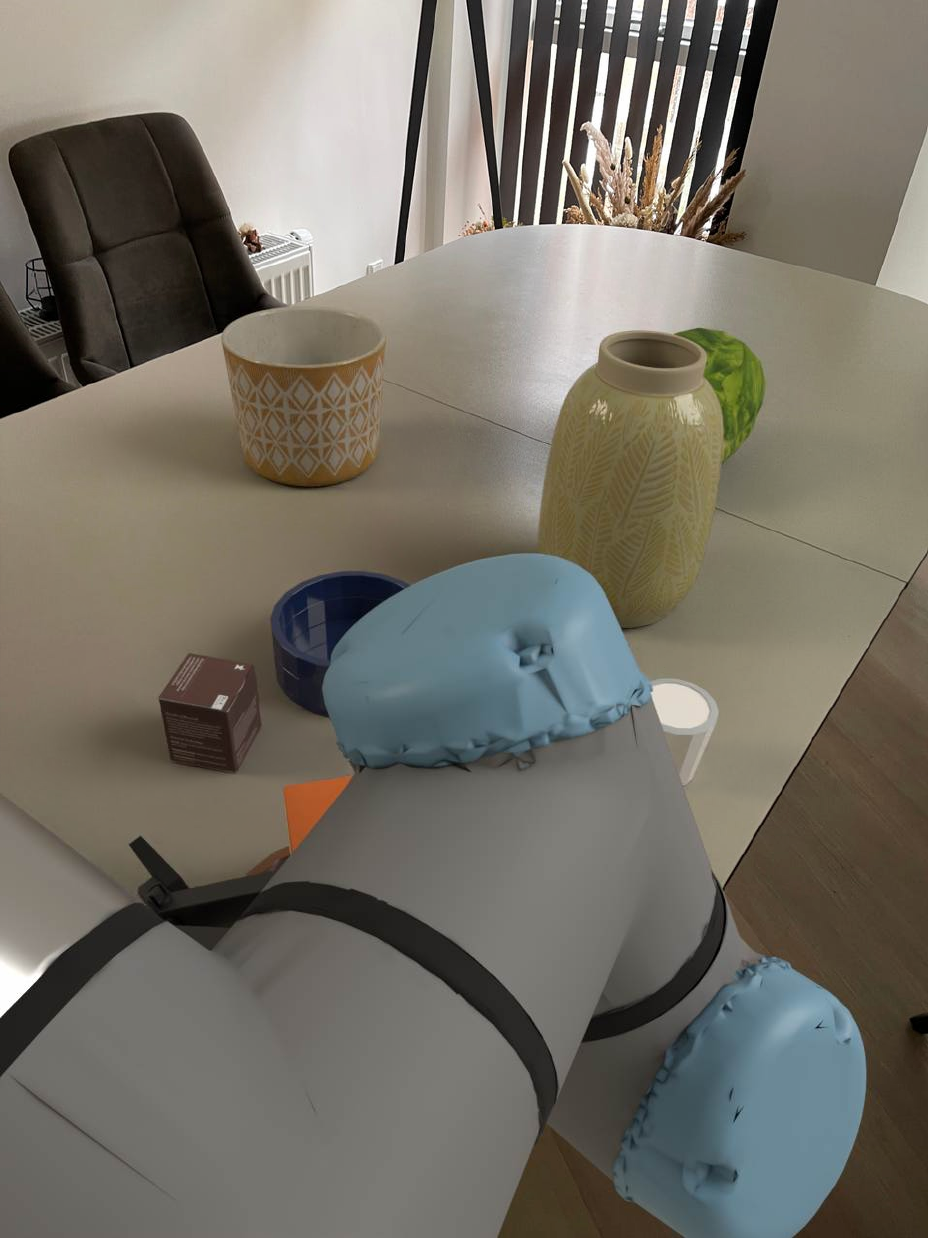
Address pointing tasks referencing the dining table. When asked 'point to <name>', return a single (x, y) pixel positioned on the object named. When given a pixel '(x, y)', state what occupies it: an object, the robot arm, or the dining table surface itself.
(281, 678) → the pot
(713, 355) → the lettuce
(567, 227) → the dining table surface
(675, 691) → the white cylinder
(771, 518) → the dining table surface
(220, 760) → the box
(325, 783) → the packet
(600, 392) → the vase
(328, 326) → the planter
